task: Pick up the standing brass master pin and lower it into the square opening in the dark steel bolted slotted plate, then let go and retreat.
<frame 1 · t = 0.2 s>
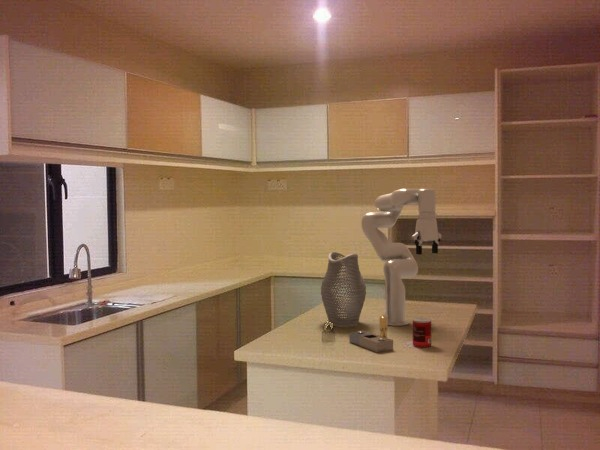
hand: (427, 253, 263), 36 cm above the table, tool pointing down, fingers open, 9 cm apart
master pin: (383, 339, 253), on the table
canned food: (421, 345, 242), on the table
vase: (343, 323, 287), on the table
bolted slotted plate: (370, 345, 242), on the table
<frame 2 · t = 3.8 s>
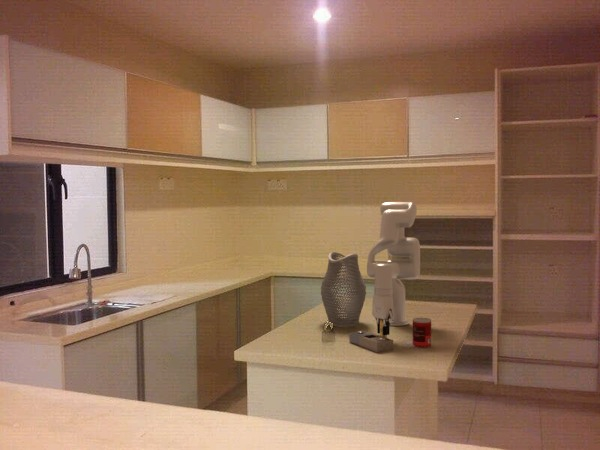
hand: (383, 333, 253), 3 cm above the table, tool pointing down, fingers closed on master pin, 3 cm apart
master pin: (383, 339, 253), on the table, touching gripper
everything else where it was.
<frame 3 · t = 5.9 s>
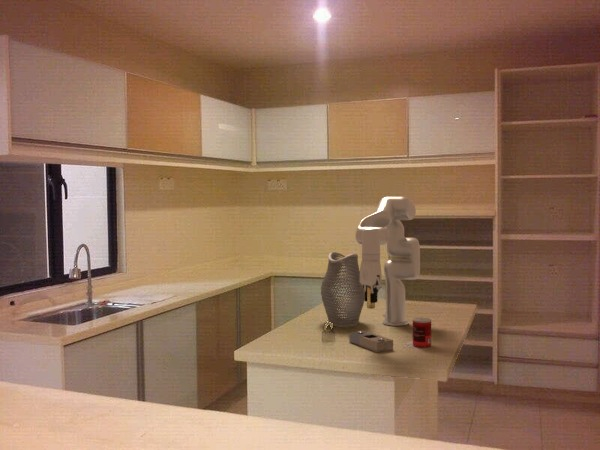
hand: (371, 301, 242), 19 cm above the table, tool pointing down, fingers closed on master pin, 3 cm apart
master pin: (371, 307, 242), point 16 cm above the table, touching gripper
everything else where it was.
when the fingers open (5 cm above the table, at t = 8.2 s): master pin drops 2 cm, resting in bolted slotted plate.
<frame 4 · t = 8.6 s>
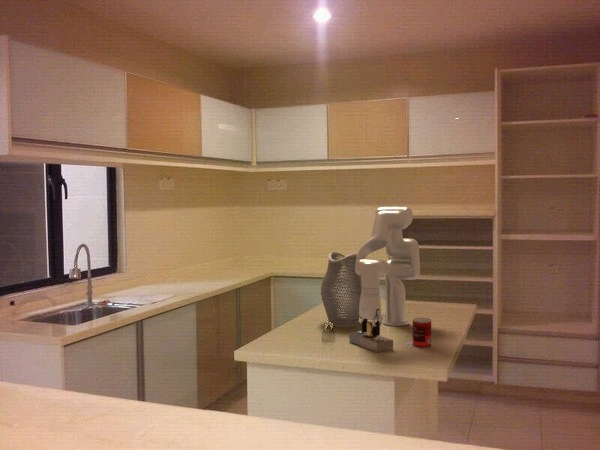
hand: (370, 333, 242), 5 cm above the table, tool pointing down, fingers open, 7 cm apart
master pin: (370, 345, 242), resting in bolted slotted plate
everything else where it was.
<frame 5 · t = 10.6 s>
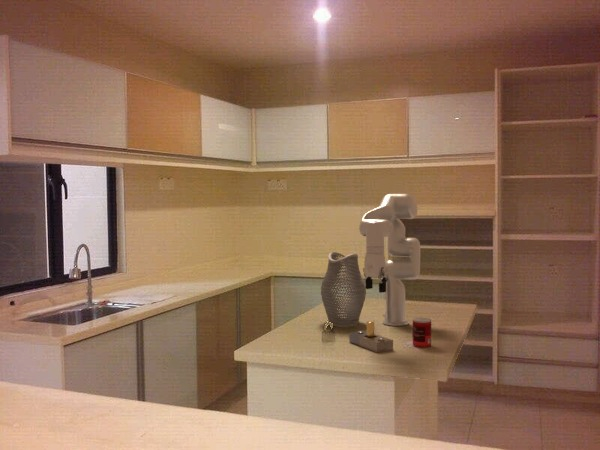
hand: (375, 290, 246), 23 cm above the table, tool pointing down, fingers open, 9 cm apart
nothing on the table moved.
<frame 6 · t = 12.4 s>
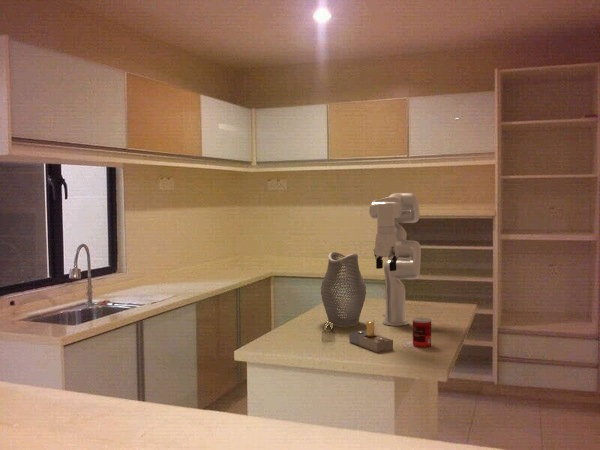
hand: (386, 269, 255), 30 cm above the table, tool pointing down, fingers open, 9 cm apart
nothing on the table moved.
at the end: master pin 0.1 cm off-centre on the bolted slotted plate, point 0.0 cm above the bolted slotted plate's base; master pin tilted 0°; the gripper is holding nothing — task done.
